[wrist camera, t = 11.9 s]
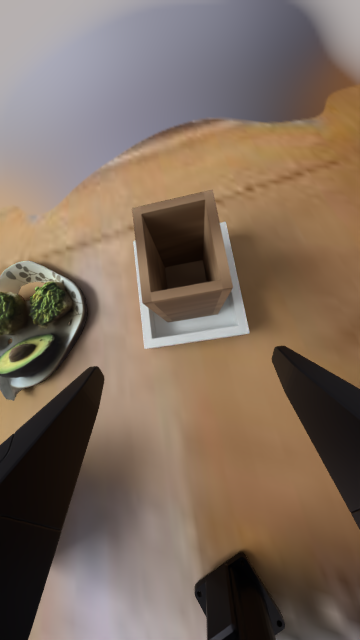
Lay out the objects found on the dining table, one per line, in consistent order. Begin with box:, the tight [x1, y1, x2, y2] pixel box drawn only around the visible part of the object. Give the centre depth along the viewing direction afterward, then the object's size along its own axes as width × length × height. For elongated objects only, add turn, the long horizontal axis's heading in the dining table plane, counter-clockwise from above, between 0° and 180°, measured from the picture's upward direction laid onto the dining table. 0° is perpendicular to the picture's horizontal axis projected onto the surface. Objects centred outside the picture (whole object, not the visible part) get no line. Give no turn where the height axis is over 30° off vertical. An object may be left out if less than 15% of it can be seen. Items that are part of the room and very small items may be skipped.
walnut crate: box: [132, 190, 233, 322], centre depth 17 cm, size 8×6×10 cm
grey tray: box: [133, 222, 250, 349], centre depth 22 cm, size 14×12×3 cm
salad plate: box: [0, 261, 87, 401], centre depth 24 cm, size 19×18×5 cm
